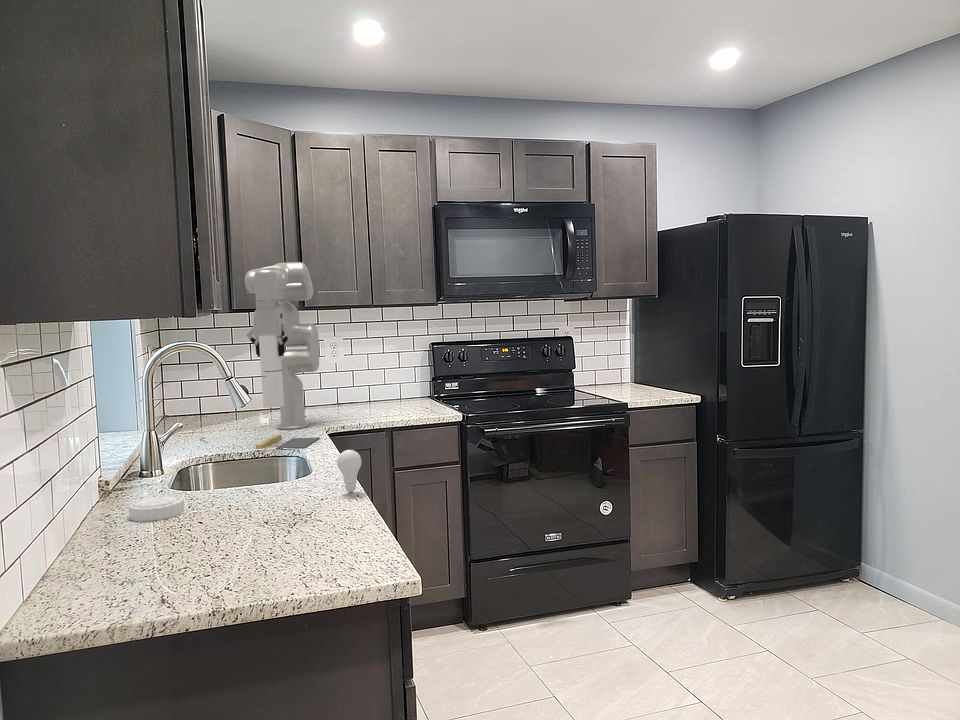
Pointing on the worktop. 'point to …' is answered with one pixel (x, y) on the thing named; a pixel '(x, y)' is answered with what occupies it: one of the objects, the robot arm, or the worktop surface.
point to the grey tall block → (271, 372)
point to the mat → (298, 443)
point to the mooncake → (156, 508)
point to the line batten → (269, 441)
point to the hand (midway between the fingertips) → (270, 355)
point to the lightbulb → (349, 468)
